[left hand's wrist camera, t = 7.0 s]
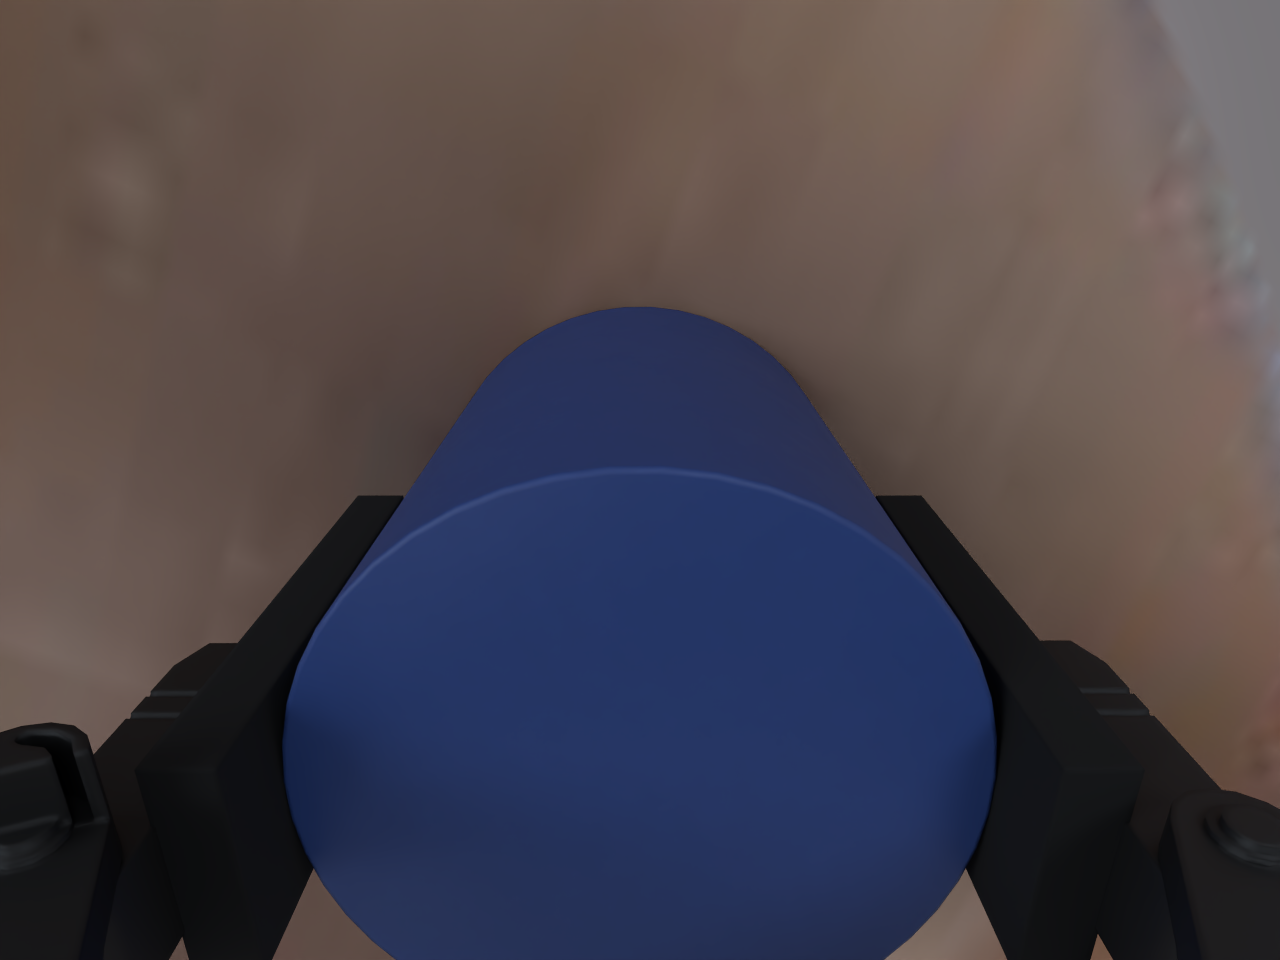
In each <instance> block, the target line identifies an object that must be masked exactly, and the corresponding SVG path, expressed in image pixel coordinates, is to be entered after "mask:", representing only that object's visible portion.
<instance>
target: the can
mask: <svg viewBox="0 0 1280 960" xmlns="http://www.w3.org/2000/svg"><path fill="white" fill-rule="evenodd" d="M282 752H283V772H284V785H285V789H286V794H287V799H288V803H289V808H290V812H291V817H292V820H293V823H294V825H295V828H296V831H297V833H298V836H299V838H300V841H301V843H302V846H303V849H304V851H305V853H306V855H307V857H308V859H309V861H310V862H311V864H312V866H313V868H314V869H315V871H316V873H317V875H318V876H319V878H320V880H321V882H322V883H323V885H324V886H325V888H326V889H327V890H328V892H329V893H330V894H331V896H332V897H333V898H334V899H335V901H336V902H337V903H338V905H339V906H340V907H341V909H342V910H343V911H344V913H345V914H346V915H347V916H348V917H349V918H350V919H351V920H352V921H353V922H354V923H355V924H356V925H357V926H358V927H359V928H360V929H361V930H362V931H363V932H364V933H365V934H366V935H367V936H368V937H369V938H370V939H371V940H372V941H373V942H374V943H375V944H377V945H378V946H379V947H381V948H382V949H383V950H384V951H386V952H387V953H388V954H389V955H391V956H392V957H393V958H394V959H396V960H884V959H885V958H887V957H888V956H889V955H890V954H891V953H893V952H894V951H895V950H896V949H898V948H899V947H900V946H901V945H902V944H904V943H905V942H906V941H907V940H908V939H910V938H911V937H912V936H913V935H914V934H915V933H916V932H917V931H918V930H919V929H920V928H921V927H922V925H923V924H924V923H925V922H926V921H927V920H928V919H929V918H930V917H931V916H932V915H933V914H934V913H935V912H936V911H937V910H938V908H939V907H940V906H941V904H942V903H943V901H944V900H945V899H946V897H947V896H948V895H949V893H950V892H951V891H952V889H953V888H954V887H955V885H956V884H957V882H958V881H959V880H960V878H961V876H962V874H963V872H964V870H965V868H966V867H967V865H968V863H969V861H970V859H971V857H972V855H973V854H974V852H975V850H976V848H977V845H978V843H979V840H980V837H981V834H982V832H983V829H984V826H985V823H986V820H987V818H988V815H989V811H990V806H991V801H992V796H993V790H994V785H995V780H996V760H997V732H996V725H995V718H994V711H993V704H992V697H991V694H990V691H989V688H988V685H987V682H986V679H985V676H984V672H983V669H982V666H981V663H980V660H979V658H978V656H977V654H976V652H975V650H974V648H973V646H972V644H971V642H970V640H969V639H968V637H967V635H966V633H965V631H964V629H963V627H962V625H961V623H960V622H959V620H958V619H957V617H956V616H955V614H954V613H953V611H952V610H951V608H950V607H949V605H948V604H947V602H946V601H945V599H944V598H943V597H942V595H941V594H940V592H939V591H938V589H937V588H936V586H935V585H934V583H933V582H932V580H931V579H930V577H929V576H928V574H927V573H926V572H925V570H924V569H923V567H922V566H921V564H920V563H919V561H918V560H917V558H916V557H915V555H914V554H913V552H912V551H911V549H910V548H909V547H908V545H907V544H906V542H905V541H904V539H903V538H902V536H901V535H900V533H899V532H898V530H897V529H896V527H895V526H894V524H893V523H892V522H891V520H890V519H889V517H888V516H887V514H886V513H885V511H884V510H883V508H882V507H881V505H880V504H879V502H878V501H877V499H876V498H875V497H874V495H873V494H872V492H871V491H870V489H869V488H868V486H867V485H866V483H865V482H864V480H863V479H862V477H861V476H860V474H859V473H858V472H857V470H856V469H855V467H854V466H853V464H852V463H851V461H850V460H849V458H848V457H847V455H846V454H845V452H844V451H843V449H842V448H841V447H840V445H839V444H838V442H837V441H836V439H835V438H834V436H833V435H832V433H831V432H830V430H829V429H828V427H827V426H826V424H825V423H824V422H823V420H822V419H821V417H820V416H819V414H818V413H817V411H816V410H815V408H814V407H813V405H812V404H811V402H810V401H809V399H808V398H807V397H806V395H805V394H804V392H803V391H802V390H801V388H800V387H799V385H798V384H797V383H796V381H795V380H794V379H793V377H792V376H791V375H790V374H789V373H788V371H787V370H786V369H785V368H784V367H783V366H782V365H781V364H780V363H779V362H778V361H777V360H776V359H775V358H774V357H773V356H772V355H770V354H769V353H768V352H766V351H765V350H764V349H763V348H761V347H760V346H759V345H757V344H756V343H755V342H754V341H752V340H751V339H749V338H747V337H745V336H744V335H742V334H740V333H738V332H737V331H735V330H733V329H731V328H730V327H727V326H725V325H723V324H720V323H718V322H715V321H713V320H710V319H708V318H705V317H702V316H698V315H694V314H690V313H687V312H683V311H679V310H671V309H663V308H655V307H623V308H616V309H609V310H602V311H596V312H592V313H589V314H585V315H582V316H578V317H575V318H571V319H569V320H567V321H564V322H562V323H560V324H557V325H555V326H553V327H550V328H548V329H546V330H544V331H543V332H541V333H539V334H538V335H536V336H534V337H533V338H531V339H529V340H528V341H526V342H524V343H523V344H522V345H521V346H519V347H518V348H517V349H516V350H514V351H513V352H512V353H511V354H510V355H508V356H507V357H506V358H505V359H503V361H502V362H501V363H500V364H499V365H498V366H497V367H496V368H495V369H494V370H493V371H492V372H491V373H490V374H489V376H488V377H487V378H486V379H485V381H484V382H483V383H482V385H481V386H480V388H479V389H478V391H477V392H476V393H475V395H474V396H473V398H472V399H471V401H470V402H469V404H468V405H467V407H466V408H465V409H464V411H463V412H462V414H461V415H460V417H459V418H458V420H457V421H456V423H455V424H454V426H453V427H452V429H451V430H450V432H449V433H448V434H447V436H446V437H445V439H444V440H443V442H442V443H441V445H440V446H439V448H438V449H437V451H436V452H435V454H434V455H433V457H432V458H431V459H430V461H429V462H428V464H427V465H426V467H425V468H424V470H423V471H422V473H421V474H420V476H419V477H418V479H417V480H416V482H415V483H414V484H413V486H412V487H411V489H410V490H409V492H408V493H407V495H406V496H405V498H404V499H403V501H402V502H401V504H400V505H399V507H398V508H397V509H396V511H395V512H394V514H393V515H392V517H391V518H390V520H389V521H388V523H387V524H386V526H385V527H384V529H383V530H382V532H381V533H380V534H379V536H378V537H377V539H376V540H375V542H374V543H373V545H372V546H371V548H370V549H369V551H368V552H367V554H366V555H365V557H364V558H363V559H362V561H361V562H360V564H359V565H358V567H357V568H356V570H355V571H354V573H353V574H352V576H351V577H350V579H349V580H348V582H347V583H346V584H345V586H344V587H343V589H342V590H341V592H340V593H339V595H338V596H337V598H336V599H335V601H334V602H333V604H332V605H331V607H330V608H329V609H328V611H327V612H326V614H325V615H324V617H323V618H322V620H321V621H320V623H319V624H318V626H317V627H316V629H315V631H314V633H313V635H312V637H311V639H310V641H309V643H308V645H307V647H306V649H305V651H304V653H303V656H302V658H301V660H300V662H299V664H298V666H297V669H296V673H295V676H294V680H293V683H292V687H291V690H290V693H289V697H288V700H287V704H286V712H285V721H284V729H283V738H282Z"/></svg>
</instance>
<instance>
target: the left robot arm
mask: <svg viewBox="0 0 1280 960" xmlns="http://www.w3.org/2000/svg"><path fill="white" fill-rule="evenodd" d="M403 499H404V498H403V496H357V498H356V499H355V500H354V501H353V503H352V504H351V505H350V506H349V507H348V509H347V510H346V511H345V512H344V514H343V515H342V516H341V517H340V519H339V520H338V521H337V522H336V523H335V525H334V526H333V527H332V528H331V530H330V531H329V532H328V533H327V534H326V536H325V537H324V538H323V539H322V541H321V542H320V543H319V544H318V545H317V547H316V548H315V549H314V550H313V552H312V553H311V554H310V555H309V556H308V558H307V559H306V560H305V561H304V563H303V564H302V565H301V566H300V567H299V569H298V570H297V571H296V572H295V574H294V575H293V576H292V577H291V578H290V580H289V581H288V582H287V583H286V585H285V586H284V587H283V588H282V590H281V591H280V592H279V593H278V594H277V596H276V597H275V598H274V599H273V601H272V602H271V603H270V604H269V605H268V607H267V608H266V609H265V610H264V612H263V613H262V614H261V615H260V616H259V618H258V619H257V620H256V621H255V623H254V624H253V625H252V626H251V627H250V629H249V630H248V631H247V632H246V634H245V635H244V636H243V637H242V638H241V640H240V641H239V642H238V643H209V644H208V645H206V646H204V647H203V648H201V649H200V650H198V651H197V652H195V653H193V654H192V655H190V656H189V657H187V658H185V659H184V660H182V661H181V662H179V663H177V664H176V665H174V666H173V667H172V668H171V670H170V671H169V672H168V673H167V674H166V675H165V676H164V677H163V678H162V680H161V681H160V682H159V683H158V684H157V685H156V686H155V687H154V688H153V689H152V691H151V695H150V697H145V698H144V699H143V701H142V702H141V703H140V704H139V705H138V706H137V707H136V708H135V709H134V710H133V712H132V713H131V718H130V719H125V720H124V722H123V723H122V724H121V725H120V726H119V727H118V728H117V729H116V730H115V731H114V733H113V734H112V735H111V736H110V737H109V738H108V739H107V740H106V741H105V743H104V744H103V745H102V746H101V747H100V748H99V749H98V750H97V751H96V752H95V754H94V755H93V752H92V749H91V746H90V742H89V739H88V736H87V735H86V734H85V733H84V732H82V731H81V730H80V729H78V728H77V727H75V726H74V725H66V724H59V723H52V722H51V723H42V724H34V725H26V726H20V727H17V728H13V729H10V730H7V731H4V732H0V960H169V958H170V957H171V955H172V953H173V952H174V950H175V948H176V946H177V945H178V943H179V941H180V940H181V938H182V937H183V940H184V944H185V947H186V951H187V954H188V958H189V960H272V959H273V956H274V954H275V952H276V950H277V948H278V945H279V943H280V941H281V939H282V937H283V934H284V932H285V930H286V928H287V926H288V923H289V921H290V919H291V917H292V915H293V912H294V910H295V908H296V906H297V904H298V901H299V899H300V897H301V895H302V893H303V890H304V888H305V886H306V884H307V882H308V879H309V877H310V875H311V873H312V871H313V866H312V864H311V862H310V861H309V859H308V857H307V855H306V853H305V851H304V849H303V846H302V843H301V841H300V838H299V836H298V833H297V831H296V828H295V825H294V823H293V820H292V817H291V812H290V808H289V803H288V799H287V794H286V789H285V785H284V772H283V752H282V738H283V729H284V721H285V712H286V704H287V700H288V697H289V693H290V690H291V687H292V683H293V680H294V676H295V673H296V669H297V666H298V664H299V662H300V660H301V658H302V656H303V653H304V651H305V649H306V647H307V645H308V643H309V641H310V639H311V637H312V635H313V633H314V631H315V629H316V627H317V626H318V624H319V623H320V621H321V620H322V618H323V617H324V615H325V614H326V612H327V611H328V609H329V608H330V607H331V605H332V604H333V602H334V601H335V599H336V598H337V596H338V595H339V593H340V592H341V590H342V589H343V587H344V586H345V584H346V583H347V582H348V580H349V579H350V577H351V576H352V574H353V573H354V571H355V570H356V568H357V567H358V565H359V564H360V562H361V561H362V559H363V558H364V557H365V555H366V554H367V552H368V551H369V549H370V548H371V546H372V545H373V543H374V542H375V540H376V539H377V537H378V536H379V534H380V533H381V532H382V530H383V529H384V527H385V526H386V524H387V523H388V521H389V520H390V518H391V517H392V515H393V514H394V512H395V511H396V509H397V508H398V507H399V505H400V504H401V502H402V501H403ZM876 499H877V501H878V502H879V504H880V505H881V507H882V508H883V510H884V511H885V513H886V514H887V516H888V517H889V519H890V520H891V522H892V523H893V524H894V526H895V527H896V529H897V530H898V532H899V533H900V535H901V536H902V538H903V539H904V541H905V542H906V544H907V545H908V547H909V548H910V549H911V551H912V552H913V554H914V555H915V557H916V558H917V560H918V561H919V563H920V564H921V566H922V567H923V569H924V570H925V572H926V573H927V574H928V576H929V577H930V579H931V580H932V582H933V583H934V585H935V586H936V588H937V589H938V591H939V592H940V594H941V595H942V597H943V598H944V599H945V601H946V602H947V604H948V605H949V607H950V608H951V610H952V611H953V613H954V614H955V616H956V617H957V619H958V620H959V622H960V623H961V625H962V627H963V629H964V631H965V633H966V635H967V637H968V639H969V640H970V642H971V644H972V646H973V648H974V650H975V652H976V654H977V656H978V658H979V660H980V663H981V666H982V669H983V672H984V676H985V679H986V682H987V685H988V688H989V691H990V694H991V697H992V704H993V711H994V718H995V725H996V732H997V760H996V780H995V785H994V790H993V796H992V801H991V806H990V811H989V815H988V818H987V820H986V823H985V826H984V829H983V832H982V834H981V837H980V840H979V843H978V845H977V848H976V850H975V852H974V854H973V855H972V857H971V859H970V861H969V863H968V865H967V867H966V870H967V872H968V874H969V876H970V878H971V881H972V883H973V885H974V887H975V889H976V892H977V894H978V896H979V898H980V900H981V903H982V905H983V907H984V909H985V911H986V914H987V916H988V918H989V920H990V922H991V925H992V927H993V929H994V931H995V933H996V936H997V938H998V940H999V942H1000V944H1001V947H1002V949H1003V951H1004V953H1005V955H1006V958H1007V960H1090V959H1091V955H1092V952H1093V948H1094V945H1095V941H1096V938H1097V935H1099V936H1100V938H1101V940H1102V941H1103V943H1104V945H1105V946H1106V948H1107V950H1108V952H1109V953H1110V955H1111V957H1112V958H1113V960H1280V809H1278V808H1276V807H1274V806H1273V805H1271V804H1269V803H1267V802H1264V801H1261V800H1258V799H1255V798H1252V797H1249V796H1247V795H1244V794H1241V793H1238V792H1233V791H1226V790H1221V789H1220V788H1219V786H1218V785H1217V784H1216V783H1215V782H1214V781H1213V780H1212V779H1211V778H1210V777H1209V775H1208V774H1207V773H1206V772H1205V771H1204V770H1203V769H1202V768H1201V767H1200V766H1199V765H1198V763H1197V762H1196V761H1195V760H1194V759H1193V758H1192V757H1191V756H1190V755H1189V754H1188V752H1187V751H1186V750H1185V749H1184V748H1183V747H1182V746H1181V745H1180V744H1179V743H1178V741H1177V740H1176V739H1175V738H1174V737H1173V736H1172V735H1171V734H1170V733H1169V732H1168V730H1167V729H1166V728H1165V727H1164V726H1163V725H1162V724H1161V723H1160V722H1159V721H1158V719H1157V718H1156V717H1155V716H1150V715H1149V710H1148V709H1147V707H1146V706H1145V705H1144V704H1143V703H1142V702H1141V701H1140V700H1139V699H1138V698H1137V696H1136V695H1135V694H1130V692H1129V688H1128V687H1127V685H1126V684H1125V683H1124V682H1123V681H1122V680H1121V679H1120V678H1119V677H1118V676H1117V674H1116V673H1115V672H1114V671H1113V670H1112V669H1111V668H1110V667H1109V666H1108V665H1107V663H1105V662H1104V661H1102V660H1101V659H1099V658H1097V657H1096V656H1094V655H1093V654H1091V653H1089V652H1088V651H1086V650H1085V649H1083V648H1081V647H1080V646H1078V645H1077V644H1075V643H1073V642H1072V641H1040V640H1039V639H1038V638H1037V637H1036V636H1035V634H1034V633H1033V632H1032V631H1031V629H1030V628H1029V627H1028V626H1027V625H1026V623H1025V622H1024V621H1023V620H1022V618H1021V617H1020V616H1019V615H1018V614H1017V612H1016V611H1015V610H1014V609H1013V607H1012V606H1011V605H1010V604H1009V602H1008V601H1007V600H1006V599H1005V598H1004V596H1003V595H1002V594H1001V593H1000V591H999V590H998V589H997V588H996V587H995V585H994V584H993V583H992V582H991V580H990V579H989V578H988V577H987V576H986V574H985V573H984V572H983V571H982V569H981V568H980V567H979V566H978V565H977V563H976V562H975V561H974V560H973V558H972V557H971V556H970V555H969V554H968V552H967V551H966V550H965V549H964V547H963V546H962V545H961V544H960V542H959V541H958V540H957V539H956V538H955V536H954V535H953V534H952V533H951V531H950V530H949V529H948V528H947V527H946V525H945V524H944V523H943V522H942V520H941V519H940V518H939V517H938V516H937V514H936V513H935V512H934V511H933V509H932V508H931V507H930V506H929V505H928V503H927V502H926V501H925V500H924V498H923V497H922V496H876Z"/></svg>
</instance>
